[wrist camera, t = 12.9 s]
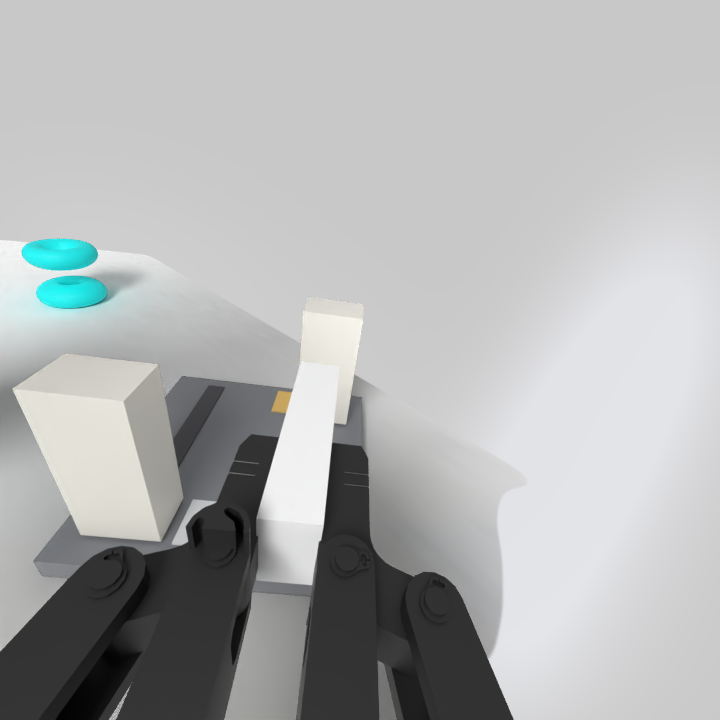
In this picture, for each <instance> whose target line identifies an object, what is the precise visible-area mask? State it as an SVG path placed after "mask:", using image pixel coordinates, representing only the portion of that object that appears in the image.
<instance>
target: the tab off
mask: <svg viewBox="0 0 720 720" xmlns="http://www.w3.org/2000/svg"><path fill="white" fill-rule="evenodd" d="M12 390H13V392H14V394H15V396H16V398H17V400H18V402H19V404H20V407H21V409H22V411H23V413H24V415H25V417H26V419H27V422H28V424H29V426H30V428H31V430H32V432H33V434H34V437H35V439H36V441H37V443H38V445H39V447H40V449H41V452H42V454H43V456H44V458H45V460H46V462H47V464H48V466H49V469H50V471H51V473H52V475H53V477H54V479H55V481H56V484H57V486H58V488H59V490H60V492H61V494H62V496H63V499H64V501H65V503H66V505H67V507H68V509H69V511H70V514H71V516H72V518H73V520H74V522H75V524H76V526H77V528H78V531H79V533H80V535H87V536H99V537H111V538H123V539H134V540H146V541H158V542H161V541H162V539H163V537H164V535H165V533H166V531H167V529H168V527H169V525H170V523H171V521H172V519H173V517H174V515H175V513H176V512H177V510H178V508H179V506H180V504H181V502H182V500H183V498H184V497H183V492H182V486H181V481H180V476H179V470H178V465H177V459H176V454H175V449H174V443H173V438H172V433H171V427H170V422H169V417H168V411H167V406H166V400H165V395H164V390H163V384H162V379H161V374H160V368H159V364H151V363H143V362H135V361H126V360H118V359H110V358H101V357H93V356H85V355H76V354H68V353H65V354H63V355H62V356H60V357H59V358H57V359H56V360H54V361H53V362H51V363H50V364H48V365H47V366H45V367H44V368H42V369H41V370H39V371H38V372H36V373H35V374H33V375H32V376H30V377H29V378H27V379H26V380H24V381H23V382H21V383H20V384H18V385H17V386H15V387H14V388H13V389H12Z"/></svg>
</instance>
